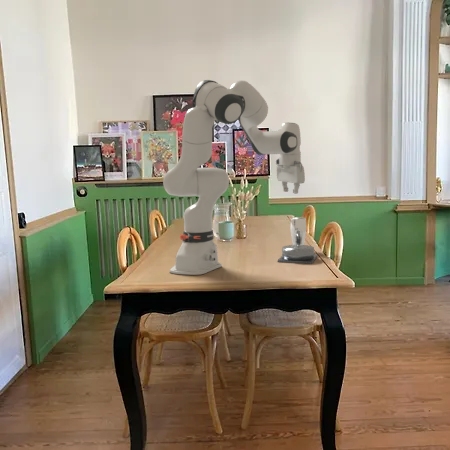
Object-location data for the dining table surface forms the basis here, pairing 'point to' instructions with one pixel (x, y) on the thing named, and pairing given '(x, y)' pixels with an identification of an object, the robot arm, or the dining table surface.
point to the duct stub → (298, 254)
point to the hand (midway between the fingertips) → (290, 192)
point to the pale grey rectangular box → (298, 230)
